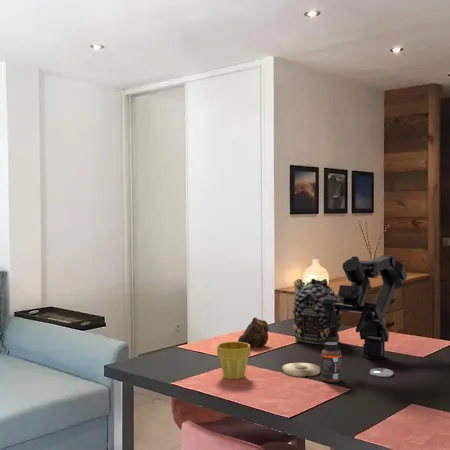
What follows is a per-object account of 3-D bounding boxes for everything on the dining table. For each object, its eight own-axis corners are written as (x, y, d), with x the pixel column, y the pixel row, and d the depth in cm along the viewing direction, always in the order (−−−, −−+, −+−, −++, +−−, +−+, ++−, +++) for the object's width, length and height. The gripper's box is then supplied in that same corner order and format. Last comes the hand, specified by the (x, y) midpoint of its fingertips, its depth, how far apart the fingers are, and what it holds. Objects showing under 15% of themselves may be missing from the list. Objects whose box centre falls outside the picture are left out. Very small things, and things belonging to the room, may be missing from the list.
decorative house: (284, 341, 228) (283, 278, 227) (301, 334, 240) (301, 274, 239) (333, 348, 216) (332, 281, 215) (349, 340, 228) (348, 277, 228)
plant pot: (226, 383, 173) (226, 350, 173) (211, 374, 182) (211, 343, 182) (256, 378, 178) (256, 346, 178) (240, 370, 187) (240, 340, 187)
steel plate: (384, 369, 186) (384, 367, 186) (397, 375, 180) (397, 373, 180) (365, 372, 184) (365, 369, 184) (378, 378, 177) (378, 375, 177)
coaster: (308, 364, 193) (308, 361, 193) (327, 374, 182) (327, 370, 182) (276, 368, 189) (276, 364, 189) (293, 378, 177) (293, 374, 177)
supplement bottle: (341, 383, 172) (341, 345, 171) (321, 382, 173) (321, 345, 173) (341, 377, 178) (341, 341, 177) (322, 376, 179) (321, 340, 179)
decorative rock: (266, 343, 225) (266, 315, 224) (271, 346, 219) (271, 318, 219) (236, 345, 222) (236, 317, 222) (240, 348, 216) (240, 320, 216)
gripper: (324, 273, 192) (307, 311, 183) (378, 277, 180) (363, 317, 172) (334, 295, 198) (319, 332, 189) (387, 299, 187) (373, 339, 178)
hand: (342, 330), depth 182 cm, fingers open, 9 cm apart
